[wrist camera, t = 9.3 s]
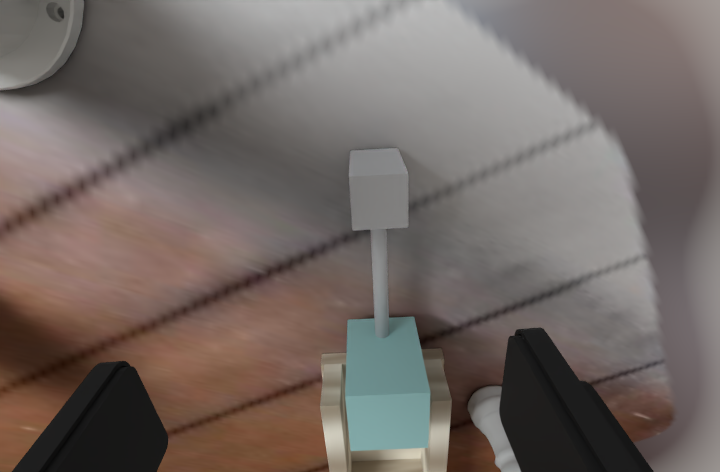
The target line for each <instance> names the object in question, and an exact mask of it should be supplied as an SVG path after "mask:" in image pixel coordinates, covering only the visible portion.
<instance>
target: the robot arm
mask: <svg viewBox="0 0 720 472" xmlns="http://www.w3.org/2000/svg"><path fill="white" fill-rule="evenodd" d="M63 11H64V13H63ZM83 11H84V0H0V90H8V89H18V88H22V87H26V86H31V85H35V84H37V83H39V82H41V81H43V80H45V79H47V78H48V77H50V76H52V75H53V74H54V73H55V72H56V71H57V70H58V69H59V68H61V67H62V66H63V65H64V64H65V63H66V61H67V59H68V58H69V56H70V55H71V53H72V51H73V50H74V48H75V46H76V43H77V40H78V37H79V34H80V31H81V28H82V21H83ZM499 414H500V419H501V423H502V426H503V428H504V431H505V433H506V436H507V438H508V441H509V443H510V446H511V448H512V450H513V453H514V455H515V458H516V460H517V463H518V465H519V468H520V470H521V472H653V470H652V469H651V467H650V466H649V465H648V463H647V462H646V461H645V459H644V458H643V456H642V455H641V453H640V452H639V451H638V449H637V448H636V446H635V445H634V444H633V442H632V441H631V439H630V438H629V437H628V435H627V434H626V432H625V431H624V430H623V428H622V427H621V425H620V424H619V423H618V421H617V420H616V418H615V417H614V416H613V414H612V413H611V411H610V410H609V409H608V407H607V406H606V404H605V403H604V402H603V400H602V399H601V397H600V396H599V395H598V393H597V392H596V391H595V389H594V388H593V387H592V386H591V385H590V384H588V383H587V382H585V381H579V379H578V378H577V376H576V375H575V374H574V372H573V371H572V369H571V368H570V366H569V365H568V363H567V362H566V360H565V359H564V358H563V356H562V355H561V353H560V352H559V350H558V349H557V347H556V346H555V344H554V343H553V342H552V340H551V339H550V337H549V336H548V334H547V333H546V332H545V330H544V329H542V328H530V329H518V330H517V331H516V332H515V336H510V337H509V339H508V346H507V353H506V361H505V368H504V376H503V383H502V391H501V398H500V406H499ZM167 445H168V435H167V433H166V431H165V429H164V427H163V424H162V422H161V420H160V418H159V416H158V414H157V412H156V410H155V408H154V406H153V404H152V402H151V400H150V398H149V395H148V393H147V391H146V389H145V387H144V385H143V383H142V381H141V379H140V377H139V375H138V373H137V371H136V369H135V368H134V367H131V366H130V365H129V364H128V363H127V362H126V361H118V362H106V363H99V364H97V365H96V366H95V367H94V368H93V369H92V370H91V372H90V373H89V374H88V375H87V377H86V378H85V379H84V381H83V382H82V383H81V384H80V386H79V387H78V388H77V389H76V391H75V392H74V393H73V395H72V396H71V397H70V398H69V400H68V401H67V402H66V403H65V405H64V406H63V407H62V409H61V410H60V411H59V412H58V414H57V415H56V416H55V417H54V419H53V420H52V421H51V423H50V424H49V425H48V426H47V428H46V429H45V430H44V431H43V433H42V434H41V435H40V437H39V438H38V439H37V440H36V442H35V443H34V444H33V445H32V447H31V448H30V449H29V451H28V452H27V453H26V454H25V456H24V457H23V458H22V459H21V461H20V462H19V463H18V465H17V466H16V467H15V468H14V470H13V471H12V472H157V470H158V467H159V465H160V463H161V461H162V458H163V456H164V454H165V452H166V449H167Z"/></svg>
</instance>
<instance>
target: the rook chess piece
mask: <svg viewBox="0 0 720 472" xmlns="http://www.w3.org/2000/svg"><path fill="white" fill-rule="evenodd" d="M501 391H502V387H501V386H498V385H492V386H486V387H483V388H480V389H479V390H477V391H476V392H474V393H473V395H472V396H471V398H470V400H469V402H468V408H467V409H468V411H469V413H470V415H471V419H472V421H473V423H474V424H475V426H476V427H477V428H479V429H480V430H481V432H482V433H483V434H484V435H486V437H487V438H488V440H489V442H490V444H491V446H492V448H493V450H494V453H495V456H496V459H495V464H496V466H497V467H498V468H500V469H501V472H521V470H520V468H519V465H518V463H517V460H516V458H515V455H514V453H513V450H512V448H511V446H510V443H509V441H508V438H507V436H506V433H505V431H504V428H503V426H502V423H501V419H500V414H499V406H500V398H501Z"/></svg>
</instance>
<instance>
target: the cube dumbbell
mask: <svg viewBox="0 0 720 472" xmlns="http://www.w3.org/2000/svg"><path fill="white" fill-rule="evenodd" d="M349 189H350V204H351V218H352V231H355V230H370V232H371V254H372V275H373V297H374V318H373V319H352V320H348V326H347V356H346V386H345V400H346V410H347V420H348V430H349V439H350V449H351V451H363V450H387V449H411V448H428V441H429V416H430V388H429V383H428V379H427V374H426V370H425V365H424V360H423V356H422V351H421V346H420V342H419V337H418V332H417V328H416V323H415V318H414V317H394V318H389V303H388V263H387V229H394V228H408V193H409V173H408V171H407V168H406V166H405V164H404V161H403V159H402V157H401V154H400V152H399V149H398V148H384V149H366V150H350V163H349Z"/></svg>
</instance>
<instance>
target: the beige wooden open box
mask: <svg viewBox="0 0 720 472" xmlns="http://www.w3.org/2000/svg"><path fill="white" fill-rule="evenodd" d="M421 351H422V356H423V360H424V365H425V370H426V374H427V379H428V383H429V388H430V416H429V441H428V448H411V449H387V450H363V451H351V449H350V439H349V430H348V420H347V410H346V400H345V386H346V356H347V353H330V354H322V358H321V370H322V377H323V384H322V393H321V403H320V409H321V416H322V423H323V429H324V436H325V443H326V450H327V457H328V464H329V470H330V472H446V471H447V458H448V445H449V432H450V419H451V407H452V399H451V395H450V392H449V388H448V384H447V380H446V377H445V373H444V356H443V352H442V349H441V348H437V349H421Z"/></svg>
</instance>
